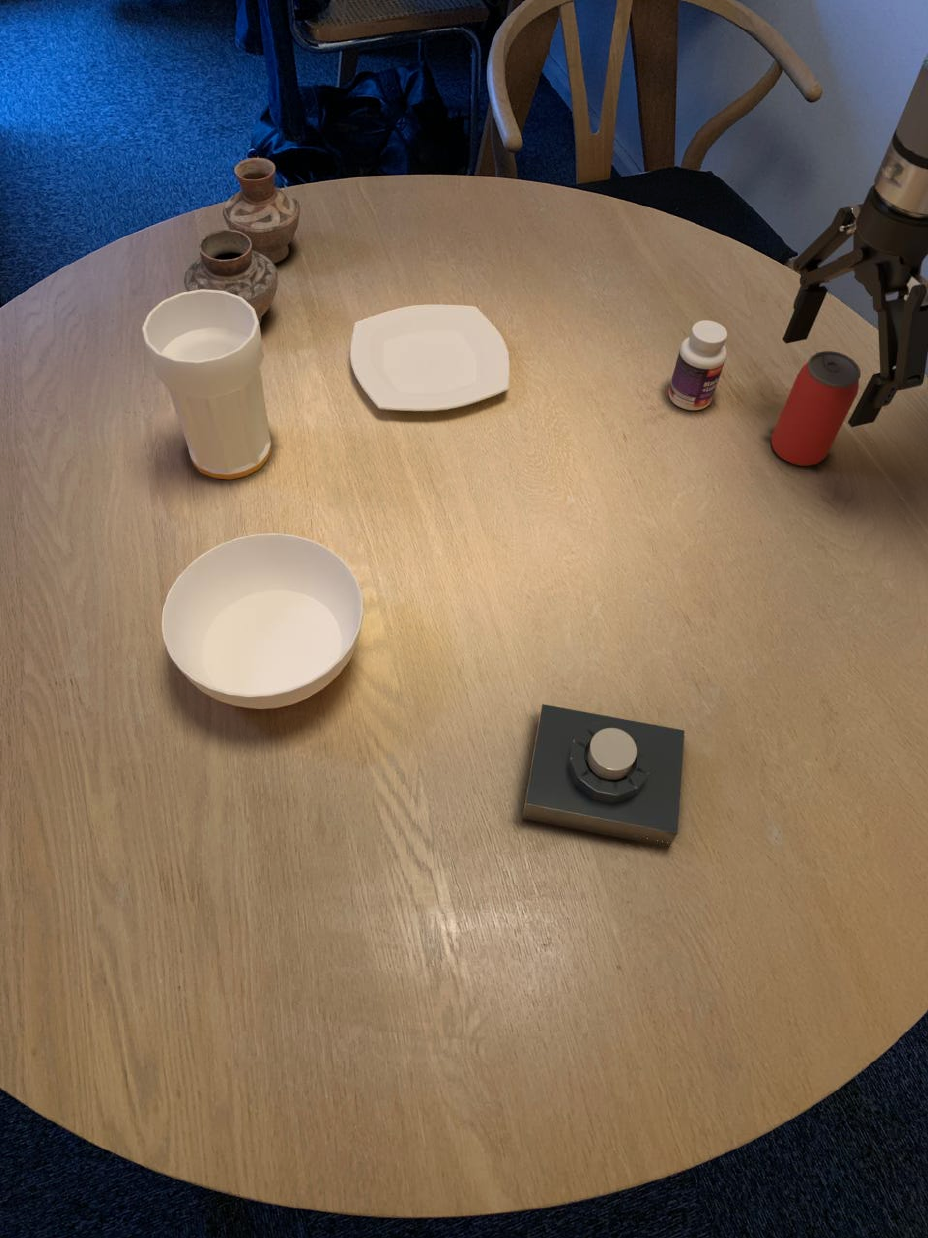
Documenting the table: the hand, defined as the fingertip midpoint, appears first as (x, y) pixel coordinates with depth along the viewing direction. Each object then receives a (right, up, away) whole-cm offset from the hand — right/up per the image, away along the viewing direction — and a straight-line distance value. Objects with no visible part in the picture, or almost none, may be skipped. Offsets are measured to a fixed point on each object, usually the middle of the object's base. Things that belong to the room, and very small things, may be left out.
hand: (826, 379), depth 101 cm
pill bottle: (-12, +1, +13) cm, 18 cm away
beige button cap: (-27, -38, -20) cm, 51 cm away
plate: (-43, +5, +14) cm, 46 cm away
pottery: (-67, +18, +22) cm, 73 cm away
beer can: (0, -6, +9) cm, 10 cm away
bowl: (-58, -29, -10) cm, 66 cm away
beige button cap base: (-27, -41, -16) cm, 51 cm away
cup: (-66, -7, +5) cm, 66 cm away
